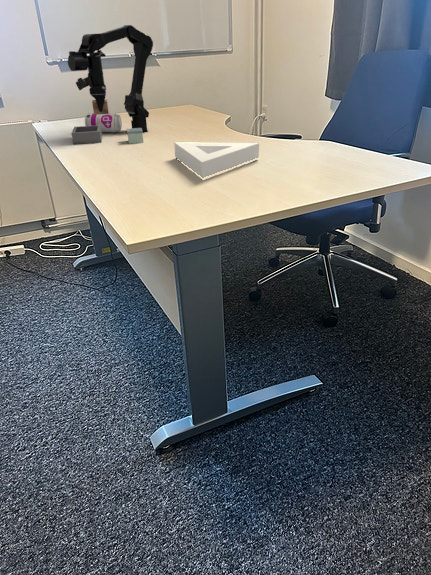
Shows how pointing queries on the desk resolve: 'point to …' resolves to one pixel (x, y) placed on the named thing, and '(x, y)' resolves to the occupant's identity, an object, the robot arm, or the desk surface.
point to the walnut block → (96, 110)
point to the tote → (87, 134)
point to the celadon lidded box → (135, 135)
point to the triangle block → (214, 155)
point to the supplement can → (105, 122)
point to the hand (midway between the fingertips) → (101, 110)
